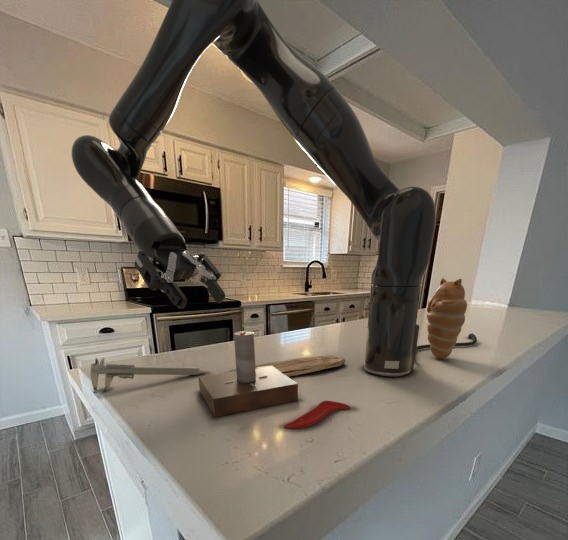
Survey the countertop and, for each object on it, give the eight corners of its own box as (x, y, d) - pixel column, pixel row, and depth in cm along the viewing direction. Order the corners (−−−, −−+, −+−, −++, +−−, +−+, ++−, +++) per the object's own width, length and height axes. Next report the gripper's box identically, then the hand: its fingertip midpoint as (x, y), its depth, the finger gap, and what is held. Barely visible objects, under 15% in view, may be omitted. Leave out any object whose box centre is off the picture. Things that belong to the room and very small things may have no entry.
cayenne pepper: (342, 403, 53) (343, 392, 52) (359, 414, 49) (360, 402, 48) (274, 417, 48) (274, 405, 47) (288, 431, 44) (288, 418, 43)
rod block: (271, 379, 63) (271, 364, 62) (298, 400, 54) (298, 382, 53) (200, 392, 58) (198, 375, 56) (215, 417, 48) (213, 398, 47)
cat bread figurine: (413, 355, 78) (423, 277, 72) (438, 352, 81) (450, 276, 74) (441, 365, 70) (455, 279, 64) (468, 361, 73) (484, 278, 67)
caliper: (94, 393, 58) (86, 359, 56) (94, 391, 59) (86, 358, 56) (205, 373, 67) (202, 344, 65) (204, 372, 68) (201, 343, 66)
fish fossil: (242, 387, 59) (241, 381, 59) (225, 375, 68) (224, 370, 68) (352, 363, 70) (352, 358, 70) (325, 356, 79) (325, 351, 79)
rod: (238, 376, 56) (236, 329, 53) (257, 376, 56) (255, 329, 53) (235, 382, 53) (231, 333, 50) (254, 383, 53) (252, 333, 50)
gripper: (120, 209, 49) (178, 290, 47) (193, 218, 60) (242, 284, 58) (108, 248, 54) (160, 323, 52) (178, 249, 65) (223, 311, 63)
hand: (204, 302), depth 55 cm, fingers open, 8 cm apart
